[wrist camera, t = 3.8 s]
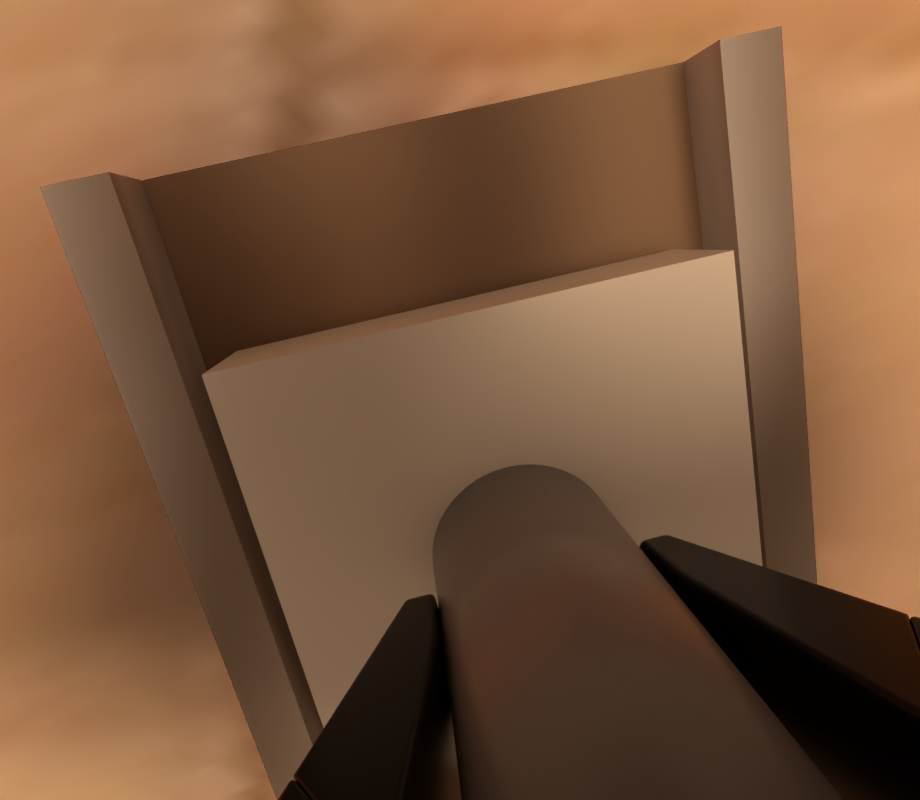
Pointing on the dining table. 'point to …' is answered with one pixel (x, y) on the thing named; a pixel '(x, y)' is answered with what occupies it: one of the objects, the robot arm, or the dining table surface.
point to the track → (432, 288)
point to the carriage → (526, 522)
